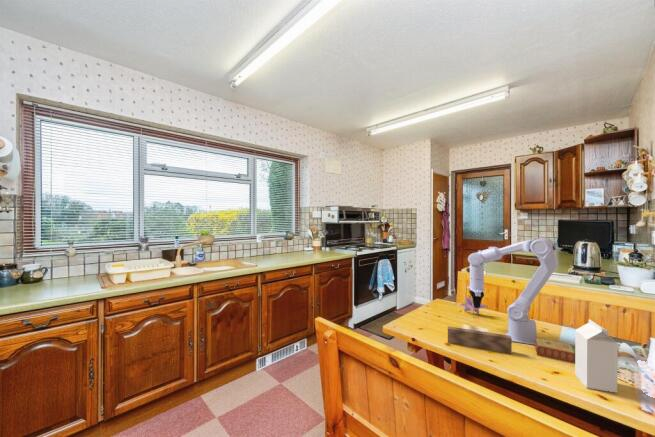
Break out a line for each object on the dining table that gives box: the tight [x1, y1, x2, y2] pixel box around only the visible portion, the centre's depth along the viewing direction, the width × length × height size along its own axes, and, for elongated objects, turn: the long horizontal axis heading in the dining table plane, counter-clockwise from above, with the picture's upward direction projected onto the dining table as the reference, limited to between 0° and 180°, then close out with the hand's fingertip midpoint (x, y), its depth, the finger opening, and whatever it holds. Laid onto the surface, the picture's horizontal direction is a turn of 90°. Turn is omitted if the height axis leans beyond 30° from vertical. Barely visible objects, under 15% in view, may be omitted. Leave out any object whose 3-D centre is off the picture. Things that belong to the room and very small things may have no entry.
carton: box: [534, 337, 575, 365], centre depth 99 cm, size 8×16×4 cm, turn 56°
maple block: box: [460, 324, 490, 333], centre depth 112 cm, size 10×7×5 cm
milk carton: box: [574, 318, 619, 394], centre depth 83 cm, size 7×7×19 cm
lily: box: [459, 296, 488, 318], centre depth 140 cm, size 12×12×10 cm
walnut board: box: [447, 325, 513, 355], centre depth 107 cm, size 22×2×6 cm, turn 65°
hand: (476, 307), depth 125 cm, fingers closed
